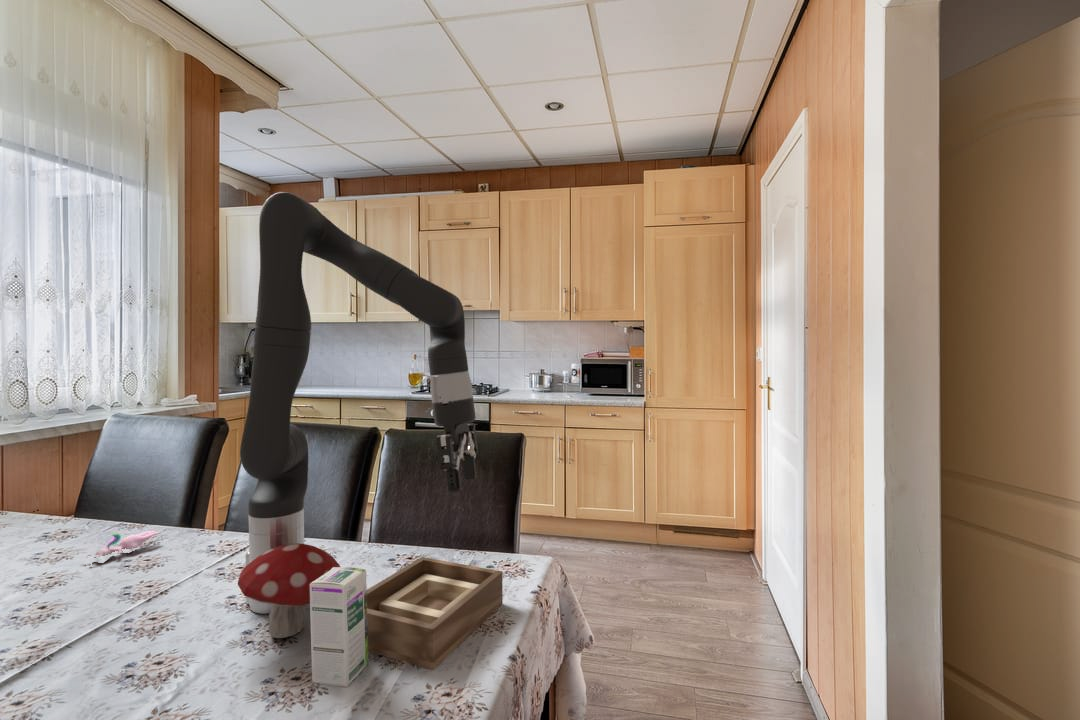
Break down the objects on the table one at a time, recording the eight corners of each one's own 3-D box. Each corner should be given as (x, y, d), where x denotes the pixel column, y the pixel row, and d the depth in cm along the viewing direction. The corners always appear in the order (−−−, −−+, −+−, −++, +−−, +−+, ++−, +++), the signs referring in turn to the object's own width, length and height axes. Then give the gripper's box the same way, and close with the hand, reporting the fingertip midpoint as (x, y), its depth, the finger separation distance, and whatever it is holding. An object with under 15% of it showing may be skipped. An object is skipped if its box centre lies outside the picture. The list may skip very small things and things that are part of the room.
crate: (339, 643, 84) (339, 606, 84) (422, 586, 104) (422, 556, 104) (433, 669, 77) (432, 629, 77) (502, 603, 97) (502, 571, 97)
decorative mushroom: (333, 602, 98) (332, 522, 98) (355, 641, 85) (354, 549, 84) (234, 627, 89) (233, 540, 89) (242, 675, 76) (241, 572, 76)
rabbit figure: (96, 574, 114) (168, 540, 127) (91, 549, 113) (164, 518, 126) (81, 569, 117) (153, 537, 130) (75, 545, 116) (148, 514, 129)
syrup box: (347, 688, 73) (346, 584, 73) (309, 683, 74) (308, 581, 74) (369, 664, 78) (368, 568, 78) (333, 659, 80) (332, 565, 79)
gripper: (447, 396, 104) (457, 476, 104) (417, 404, 90) (429, 497, 90) (483, 392, 103) (493, 473, 103) (458, 399, 89) (470, 494, 89)
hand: (463, 484), depth 97 cm, fingers open, 8 cm apart
